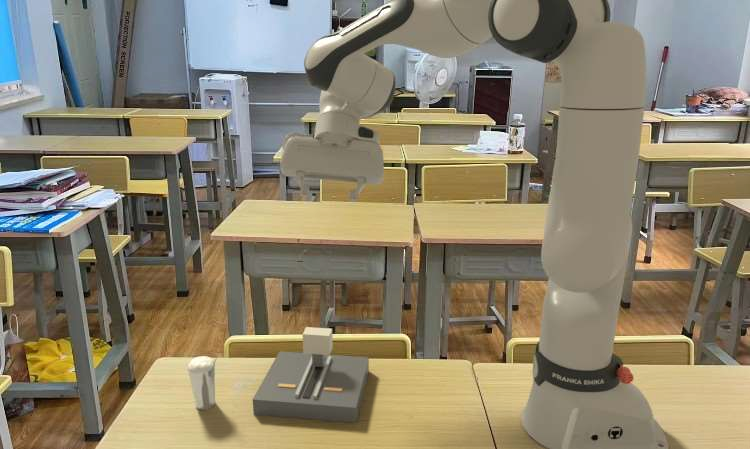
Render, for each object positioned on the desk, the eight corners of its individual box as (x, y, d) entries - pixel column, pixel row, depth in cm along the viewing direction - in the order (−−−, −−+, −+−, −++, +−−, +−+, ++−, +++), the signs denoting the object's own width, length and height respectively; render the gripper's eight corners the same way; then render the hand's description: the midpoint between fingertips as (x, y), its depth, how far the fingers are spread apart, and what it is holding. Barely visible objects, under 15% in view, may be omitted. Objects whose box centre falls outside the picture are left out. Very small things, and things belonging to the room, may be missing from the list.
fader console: (368, 370, 108) (368, 354, 107) (356, 422, 92) (355, 404, 91) (280, 364, 110) (279, 348, 109) (253, 414, 95) (252, 396, 93)
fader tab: (332, 361, 104) (332, 328, 102) (330, 369, 102) (329, 335, 100) (307, 359, 105) (306, 327, 103) (303, 367, 102) (302, 334, 100)
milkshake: (215, 414, 94) (210, 364, 91) (187, 410, 95) (181, 360, 92) (227, 399, 99) (222, 350, 96) (200, 395, 100) (194, 347, 97)
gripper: (283, 123, 107) (272, 185, 101) (387, 133, 107) (382, 195, 101) (286, 140, 112) (276, 200, 107) (384, 150, 113) (379, 210, 107)
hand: (328, 198), depth 104 cm, fingers open, 8 cm apart
